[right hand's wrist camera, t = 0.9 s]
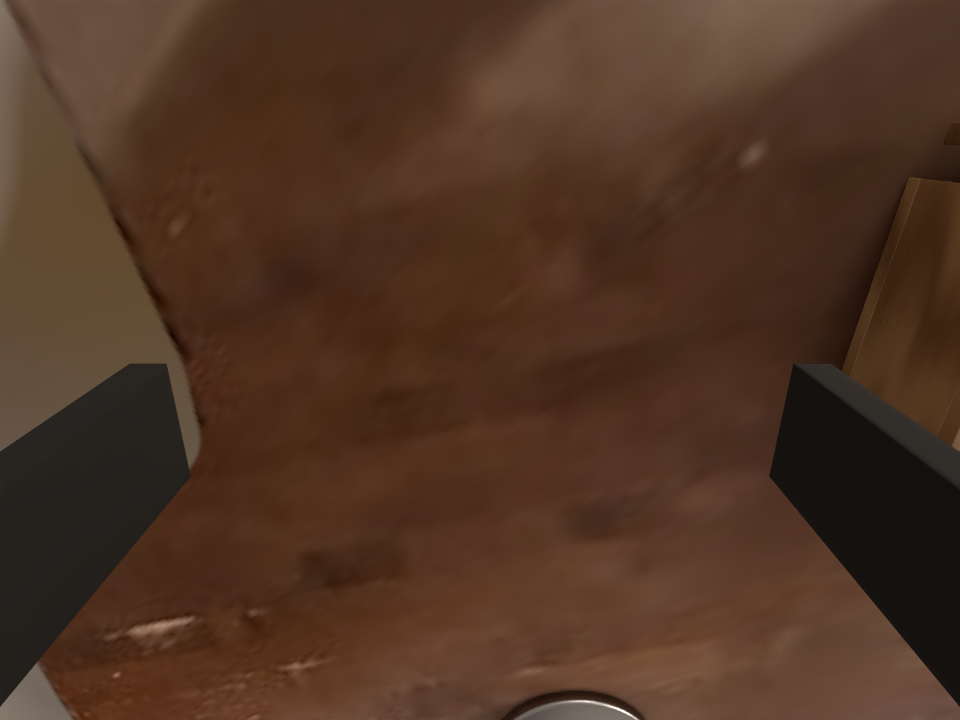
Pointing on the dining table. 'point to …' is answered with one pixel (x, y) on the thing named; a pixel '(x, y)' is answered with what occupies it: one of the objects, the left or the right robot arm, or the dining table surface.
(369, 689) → the dining table surface
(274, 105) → the dining table surface
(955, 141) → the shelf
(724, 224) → the dining table surface
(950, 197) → the wooden block
